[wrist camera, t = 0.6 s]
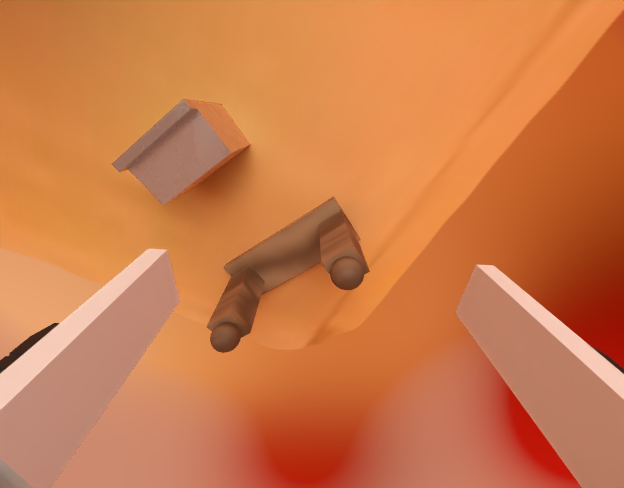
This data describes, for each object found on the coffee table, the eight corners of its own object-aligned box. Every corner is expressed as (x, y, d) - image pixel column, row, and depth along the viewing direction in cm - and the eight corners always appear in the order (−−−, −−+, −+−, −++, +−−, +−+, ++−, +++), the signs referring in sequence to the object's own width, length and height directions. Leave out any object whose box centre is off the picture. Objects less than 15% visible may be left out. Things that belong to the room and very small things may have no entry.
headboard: (225, 264, 37) (184, 335, 25) (333, 196, 32) (346, 244, 20) (255, 294, 40) (231, 372, 28) (359, 236, 35) (384, 300, 23)
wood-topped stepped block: (166, 151, 30) (111, 164, 22) (221, 104, 27) (183, 98, 19) (196, 185, 32) (156, 209, 24) (250, 144, 29) (227, 154, 21)
